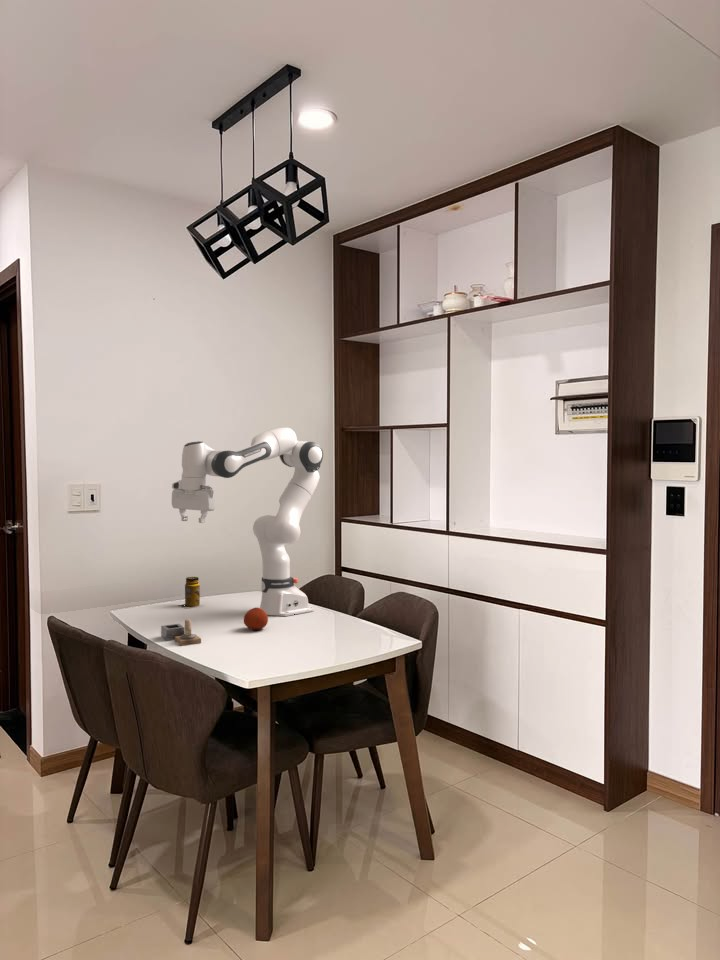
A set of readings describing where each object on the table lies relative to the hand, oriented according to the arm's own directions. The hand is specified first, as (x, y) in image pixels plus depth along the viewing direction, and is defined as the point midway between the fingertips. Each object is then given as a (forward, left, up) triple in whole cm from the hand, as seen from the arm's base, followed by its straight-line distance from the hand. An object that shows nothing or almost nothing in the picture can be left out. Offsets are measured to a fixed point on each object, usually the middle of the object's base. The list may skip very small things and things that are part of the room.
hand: (193, 521), depth 275 cm
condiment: (-9, -33, -39) cm, 53 cm away
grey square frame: (+12, +14, -39) cm, 43 cm away
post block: (+9, +22, -39) cm, 46 cm away
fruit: (-18, +17, -39) cm, 46 cm away
